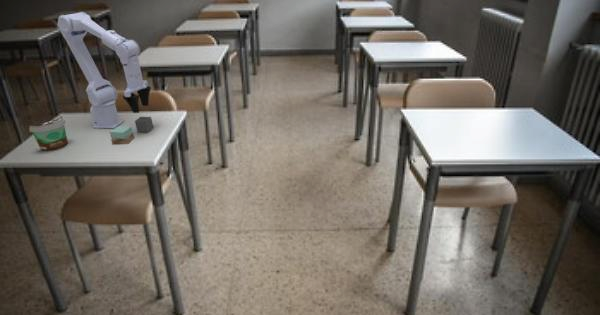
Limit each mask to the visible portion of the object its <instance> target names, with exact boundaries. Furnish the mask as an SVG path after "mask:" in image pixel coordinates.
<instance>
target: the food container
mask: <svg viewBox="0 0 600 315" xmlns="http://www.w3.org/2000/svg"><path fill="white" fill-rule="evenodd" d="M65 125H66V120H65V118H64V117H63V116H62V115H59V118H56V119H53V120H47V121H44V122H43V123H40V124H37V125H29V132H30V133H32V135H33V137H34V139H35V141H36V142H37V145H38V147H39V150H40V151H43V152H50V151H56V150H59V149H62V148H65V147H66V146H67V145H68V143H69V142H68V137H67V133H66V132H67V131H66V127H65Z"/></svg>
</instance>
